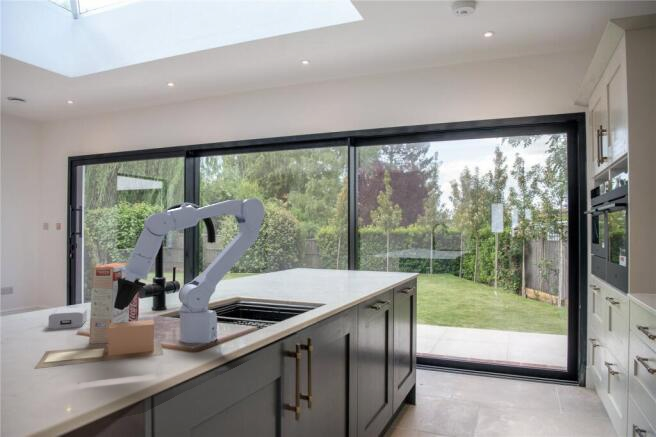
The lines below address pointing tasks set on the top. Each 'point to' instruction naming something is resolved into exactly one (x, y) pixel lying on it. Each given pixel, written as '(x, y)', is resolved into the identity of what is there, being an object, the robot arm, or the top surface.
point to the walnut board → (89, 355)
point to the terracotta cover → (131, 337)
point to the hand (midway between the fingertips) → (120, 307)
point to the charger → (67, 318)
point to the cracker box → (105, 301)
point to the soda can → (134, 308)
